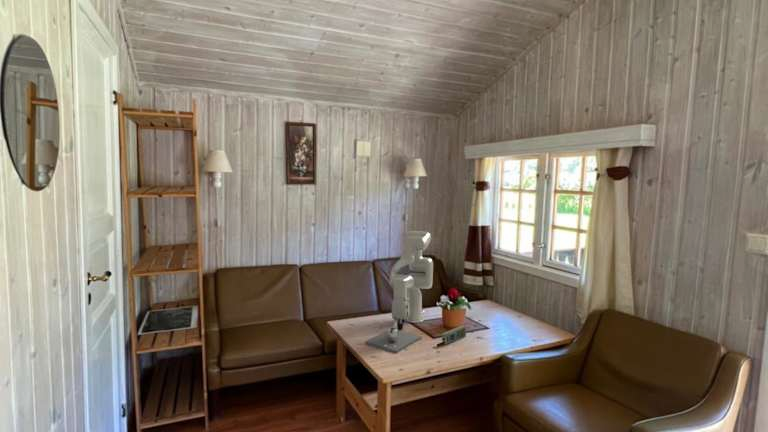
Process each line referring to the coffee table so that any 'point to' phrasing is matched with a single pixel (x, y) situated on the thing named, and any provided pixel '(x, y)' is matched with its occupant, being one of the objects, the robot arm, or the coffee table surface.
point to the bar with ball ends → (392, 333)
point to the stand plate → (402, 342)
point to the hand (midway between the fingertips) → (400, 329)
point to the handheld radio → (453, 335)
